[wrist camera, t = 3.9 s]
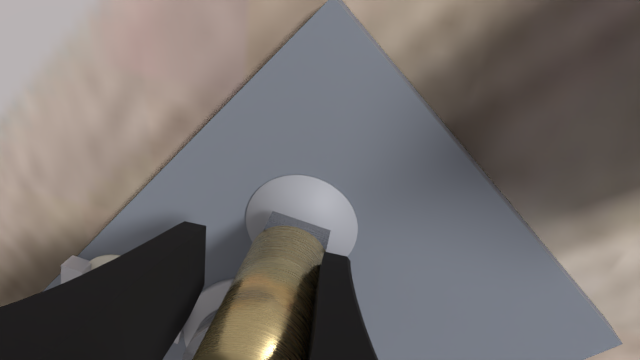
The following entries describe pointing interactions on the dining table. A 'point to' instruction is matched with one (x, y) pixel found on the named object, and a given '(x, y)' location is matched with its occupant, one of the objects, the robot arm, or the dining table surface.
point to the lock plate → (363, 208)
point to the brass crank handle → (267, 298)
